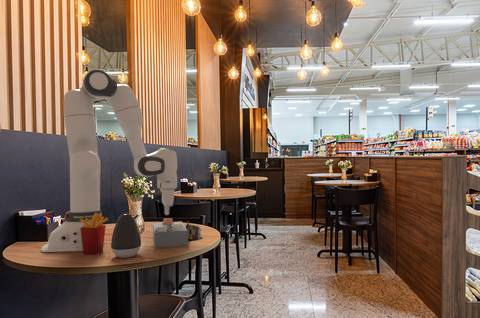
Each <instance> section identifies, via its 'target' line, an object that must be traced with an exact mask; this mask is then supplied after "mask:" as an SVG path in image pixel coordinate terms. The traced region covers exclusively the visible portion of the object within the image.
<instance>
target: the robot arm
mask: <svg viewBox="0 0 480 318" xmlns="http://www.w3.org/2000/svg"><path fill="white" fill-rule="evenodd" d="M105 100H106V101H107V102H108V103H109V104H110V106H111V107H112V110H113V113H114V116H115V118H116V121H117V122H118V125H119V127H120V128H121V130H122V131H123V133H124V136H125V137H126V140H127V142H128V146H129V149H130V151H131V154H132V171H133V172H134V174H135V175H137V176H138V177H139V178H149V177H150V178H151V177H153V176H156V177H157V184H156V188H157V189H159V191H160V192H161V202H162V205H163V208H164V215H165V216H169V215H170V207H173V206H174V200H175V199H174V198H175V189H177V188H178V175H177V170H178V154H177V152H176V151H175V150H174V149H172V148H166V147H160V148H159V149H157V150H155V151H154V152H151V153H149V154H148V153H147V150H146V147H145V144H144V141H143V138H142V127H143V123H144V117H143V111H142V109H141V106H140V104H139V101H138V98H137V97H136V95H135V92H134V91H133V89H132V88H131V87H130V86H129V85H128V84H123V83H120V84H118V82H117V81H116V80H115V79H114V78H113V77H111V76H110V74H109V73H107V72H106V71H105V70H101V69H93V70H90V71H88V72H87V73H86V74H85V76H84V78H83V80H82V86H81V87H80V88H78V89H76V88H73V89H71V90H68V91H66V92H65V93H64V96H63V118H64V126H65V127H64V128H65V135H66V141H67V142H66V143H67V147H68V148H67V149H68V156H69V189H70V191H69V192H70V193H69V195H70V197H69V198H70V199H69V205H70V207H69V208H70V209H69V211H67V212H66V213H65V214H64V222H63V223H62V224H60V225H59V226H58V227H56V228H55V229H53V231H51V232H50V234H49V236H48V241H47V242H48V243H46V244H44V245H43V246H42V247H41V252H42V253H58V252H59V253H61V252H63V253H65V252H83V246H82V238H81V230H80V228H82V227H84V224H83V223H82V222H81V221H80V219H83V220H84V221H85V218H87V219H88V220H89V219H90V220H92V217H93V215H94V214H95V213H97V214H99V215H102V209H101V160H100V159H101V158H100V157H99V150H98V140H97V130H96V123H95V116H94V115H95V113H94V105H95V104H97V103H101V102H102V101H105ZM96 222H97V220H96ZM87 223H88V224H89V225H91V223H90V222H89V221H87ZM95 224H96V223H95Z"/></svg>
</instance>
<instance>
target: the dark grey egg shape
mask: <svg viewBox="0 0 480 318" xmlns="http://www.w3.org/2000/svg"><path fill="white" fill-rule="evenodd" d="M138 217H139V214H138V213H136V214H134V215H132V214H129V213H123V214H121V215H119V217H118V218H117V220H116V223H115V225H114V227H113V231H112V234H111V235H112V236H111V242H110V244H111V245H110V247H111V250H112V253H113V255H114V256H116V257H117V258H121V259H128V258H132V257H135V256H136V255H137V254H138V253H139V252H140V249H141V246H142V239H141V233H140V229H139V226H138V223H137V221H136V219H137V218H138Z"/></svg>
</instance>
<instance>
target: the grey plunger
mask: <svg viewBox="0 0 480 318" xmlns="http://www.w3.org/2000/svg"><path fill="white" fill-rule="evenodd" d="M157 232H167V227H157Z"/></svg>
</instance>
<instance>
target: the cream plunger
mask: <svg viewBox="0 0 480 318" xmlns="http://www.w3.org/2000/svg"><path fill="white" fill-rule="evenodd" d="M180 227H181V223H173V224H172V228H180Z"/></svg>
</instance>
